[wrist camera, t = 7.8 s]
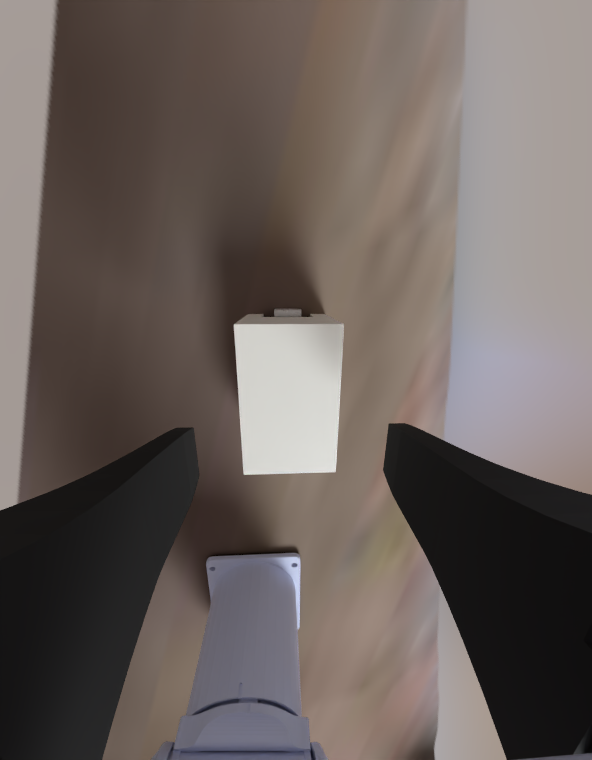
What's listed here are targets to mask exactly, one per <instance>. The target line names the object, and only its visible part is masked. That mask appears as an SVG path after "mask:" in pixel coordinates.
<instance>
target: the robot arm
mask: <svg viewBox="0 0 592 760" xmlns="http://www.w3.org/2000/svg"><path fill="white" fill-rule="evenodd" d="M383 471H384V474H385V477H386V479H387V482H388V485H389V487H390V490H391V492H392V495H393V496H394V498H395V500H396V502H397V504H398V506H399V508H400V509H401V511H402V513H403V515H404V517H405V518H406V520H407V522H408V524H409V526H410V527H411V529H412V531H413V533H414V535H415V536H416V538H417V540H418V542H419V544H420V545H421V547H422V549H423V551H424V553H425V555H426V557H427V559H428V561H429V563H430V565H431V566H432V569H433V571H434V573H435V576H436V578H437V580H438V582H439V585H440V587H441V589H442V591H443V594H444V596H445V598H446V601H447V603H448V605H449V607H450V610H451V613H452V615H453V618H454V620H455V622H456V624H457V627H458V630H459V632H460V635H461V637H462V639H463V642H464V644H465V647H466V650H467V652H468V655H469V658H470V660H471V663H472V665H473V668H474V671H475V673H476V676H477V678H478V681H479V683H480V686H481V689H482V691H483V694H484V697H485V700H486V702H487V705H488V708H489V711H490V714H491V716H492V719H493V722H494V724H495V727H496V730H497V733H498V736H499V739H500V741H501V744H502V747H503V750H504V753H505V755H506V758H507V760H592V495H590V494H586V493H582V492H578V491H575V490H572V489H568V488H565V487H562V486H559V485H555V484H552V483H548V482H545V481H542V480H539V479H536V478H533V477H530V476H527V475H525V474H522V473H519V472H516V471H514V470H511V469H508V468H505V467H503V466H500V465H497V464H495V463H493V462H490V461H488V460H485V459H483V458H481V457H478V456H476V455H474V454H471V453H469V452H467V451H465V450H462V449H460V448H458V447H456V446H454V445H451V444H450V443H448V442H446V441H443V440H441V439H439V438H437V437H435V436H433V435H431V434H429V433H427V432H425V431H423V430H420V429H418V428H416V427H414V426H411V425H408V424H405V423H397V424H389V426H388V434H387V443H386V451H385V460H384V468H383ZM198 479H199V468H198V460H197V452H196V444H195V436H194V428H175V429H173V430H170V431H168V432H167V433H165V434H163V435H161V436H159V437H157V438H156V439H154V440H152V441H150V442H149V443H147V444H145V445H143V446H142V447H140V448H138V449H136V450H135V451H133V452H131V453H129V454H128V455H126V456H124V457H122V458H120V459H118V460H116V461H114V462H112V463H110V464H109V465H107V466H105V467H103V468H101V469H99V470H97V471H95V472H93V473H91V474H89V475H87V476H85V477H83V478H80V479H78V480H76V481H74V482H71V483H69V484H67V485H65V486H62V487H60V488H58V489H55V490H53V491H51V492H48V493H45V494H43V495H40V496H38V497H35V498H32V499H30V500H27V501H24V502H22V503H19V504H17V505H14V506H12V507H9V508H6V509H4V510H1V511H0V760H102V757H103V754H104V750H105V747H106V743H107V740H108V736H109V732H110V729H111V725H112V722H113V718H114V715H115V711H116V708H117V705H118V701H119V698H120V695H121V691H122V688H123V685H124V681H125V678H126V675H127V671H128V668H129V665H130V661H131V658H132V655H133V652H134V649H135V646H136V643H137V639H138V636H139V633H140V630H141V627H142V624H143V621H144V618H145V615H146V612H147V609H148V606H149V603H150V600H151V597H152V594H153V591H154V588H155V586H156V583H157V580H158V577H159V575H160V572H161V570H162V567H163V565H164V563H165V560H166V558H167V556H168V554H169V551H170V549H171V547H172V545H173V543H174V540H175V538H176V536H177V534H178V532H179V529H180V527H181V525H182V523H183V520H184V518H185V516H186V514H187V511H188V509H189V507H190V504H191V502H192V499H193V496H194V493H195V490H196V486H197V482H198ZM206 568H207V576H208V583H209V591H210V599H211V606H210V610H209V615H208V619H207V624H206V628H205V633H204V637H203V641H202V646H201V650H200V655H199V659H198V664H197V668H196V673H195V677H194V682H193V686H192V691H191V695H190V700H189V704H188V708H187V713H186V716H182V717H181V719H180V723H179V727H178V732H177V736H176V740H175V743H174V742H168V741H166V742H164V743H163V744H162V745H161V747H160V749H159V751H158V752H157V753H156V754H155V755H154V756H153V757H152V758H151V760H328V758H327V757H326V755H325V753H324V751H323V748H322V747H321V745H320V743H318V742H312V743H310V733H309V719H308V718H307V717H302V711H301V690H300V670H299V649H298V629H299V627H300V555H299V554H297V553H279V554H256V555H233V556H212V557H209V558H208V559H207V562H206Z"/></svg>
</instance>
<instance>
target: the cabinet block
mask: <svg viewBox="0 0 592 760" xmlns="http://www.w3.org/2000/svg"><path fill="white" fill-rule="evenodd" d="M343 334H344V324H343V323H341V322H339V321H337V320H336V319H334V318H332V317H330V316H328V315H326V314H310V317H264V314H247V315H246V316H245V317H243V318H242V319H241V320H239V321H238V322H236V323H235V324H234V335H235V350H236V365H237V380H238V396H239V411H240V426H241V441H242V456H243V472H244V475H253V474H286V473H320V472H336V458H337V440H338V422H339V405H340V387H341V369H342V351H343Z"/></svg>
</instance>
